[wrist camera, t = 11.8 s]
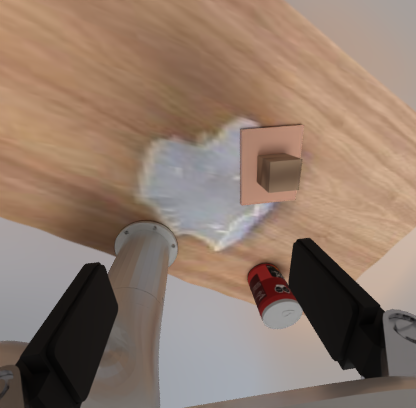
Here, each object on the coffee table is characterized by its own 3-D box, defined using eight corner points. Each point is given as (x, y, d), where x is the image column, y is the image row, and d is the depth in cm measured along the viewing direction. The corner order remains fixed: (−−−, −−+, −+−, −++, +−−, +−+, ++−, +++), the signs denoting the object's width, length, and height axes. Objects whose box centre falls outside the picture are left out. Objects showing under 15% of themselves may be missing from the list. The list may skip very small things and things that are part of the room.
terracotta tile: (293, 198, 41) (295, 199, 40) (240, 203, 40) (241, 205, 39) (301, 124, 35) (304, 124, 34) (240, 129, 34) (241, 129, 34)
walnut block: (282, 179, 38) (298, 189, 32) (256, 182, 38) (268, 193, 32) (284, 153, 36) (302, 159, 30) (257, 155, 36) (270, 162, 30)
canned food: (283, 277, 49) (308, 318, 39) (254, 291, 50) (271, 335, 40) (271, 256, 46) (295, 295, 36) (241, 272, 47) (256, 313, 37)
